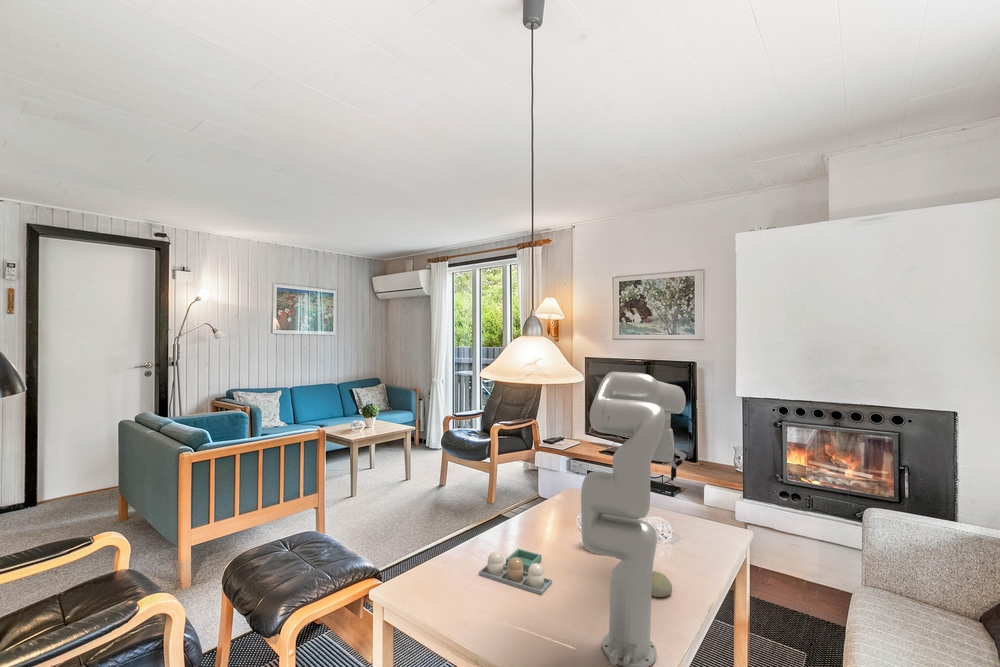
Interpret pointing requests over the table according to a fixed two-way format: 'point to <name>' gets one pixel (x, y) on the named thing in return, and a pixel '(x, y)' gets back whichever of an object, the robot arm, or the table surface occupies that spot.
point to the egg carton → (520, 585)
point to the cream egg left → (495, 564)
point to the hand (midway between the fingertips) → (656, 477)
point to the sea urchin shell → (660, 585)
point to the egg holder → (525, 558)
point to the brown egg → (515, 570)
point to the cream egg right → (536, 576)
